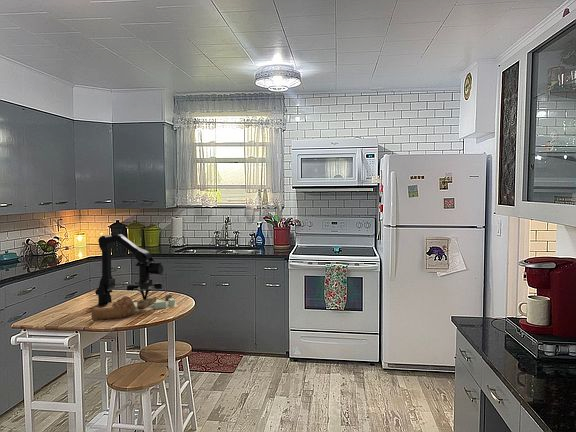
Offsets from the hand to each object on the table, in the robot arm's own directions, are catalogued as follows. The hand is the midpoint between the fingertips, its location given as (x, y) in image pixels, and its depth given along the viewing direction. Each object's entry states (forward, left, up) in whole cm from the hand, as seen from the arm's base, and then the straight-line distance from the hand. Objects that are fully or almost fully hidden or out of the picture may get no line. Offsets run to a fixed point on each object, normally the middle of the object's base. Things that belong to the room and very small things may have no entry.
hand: (144, 301), depth 265 cm
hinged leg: (0, -5, -1) cm, 5 cm away
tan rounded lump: (-17, -20, -3) cm, 26 cm away
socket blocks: (+9, -11, -1) cm, 14 cm away
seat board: (+4, -4, -3) cm, 6 cm away
